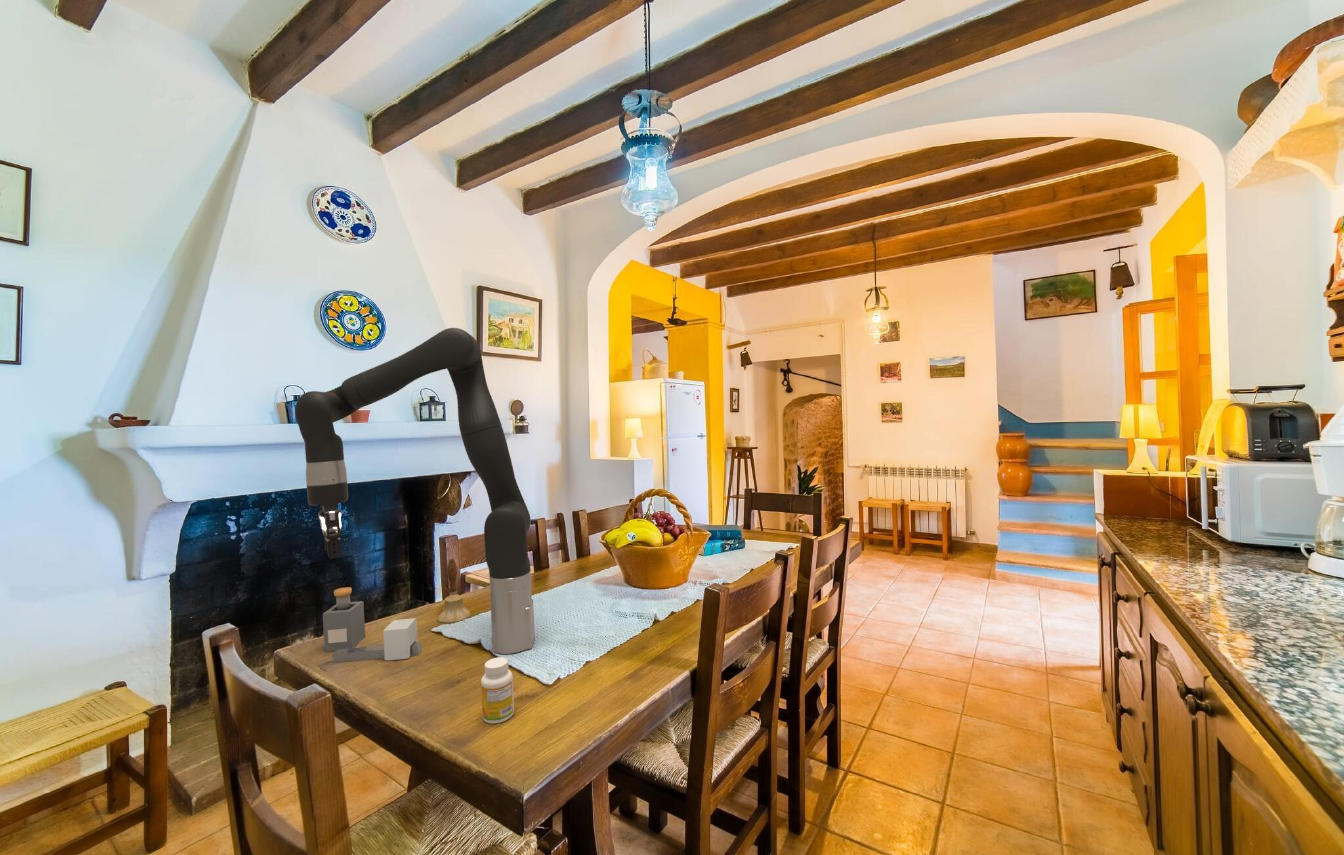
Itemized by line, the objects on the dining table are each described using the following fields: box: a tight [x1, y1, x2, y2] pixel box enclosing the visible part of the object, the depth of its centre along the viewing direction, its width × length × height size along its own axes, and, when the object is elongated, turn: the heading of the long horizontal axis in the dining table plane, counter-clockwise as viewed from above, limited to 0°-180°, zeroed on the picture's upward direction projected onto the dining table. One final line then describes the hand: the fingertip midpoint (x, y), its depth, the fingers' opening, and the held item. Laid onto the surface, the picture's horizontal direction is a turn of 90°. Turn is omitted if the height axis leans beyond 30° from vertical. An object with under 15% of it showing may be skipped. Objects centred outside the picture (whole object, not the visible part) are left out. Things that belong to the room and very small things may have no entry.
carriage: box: [382, 617, 418, 661], centre depth 119 cm, size 5×6×7 cm
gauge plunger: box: [333, 586, 353, 611], centre depth 125 cm, size 4×4×5 cm
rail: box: [332, 641, 423, 664], centre depth 118 cm, size 18×2×2 cm, turn 98°
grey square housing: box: [322, 600, 366, 653], centre depth 125 cm, size 6×7×9 cm
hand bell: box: [437, 558, 471, 624], centre depth 140 cm, size 8×8×16 cm
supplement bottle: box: [480, 656, 515, 724], centre depth 93 cm, size 5×5×10 cm
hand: (332, 554), depth 115 cm, fingers open, 8 cm apart
